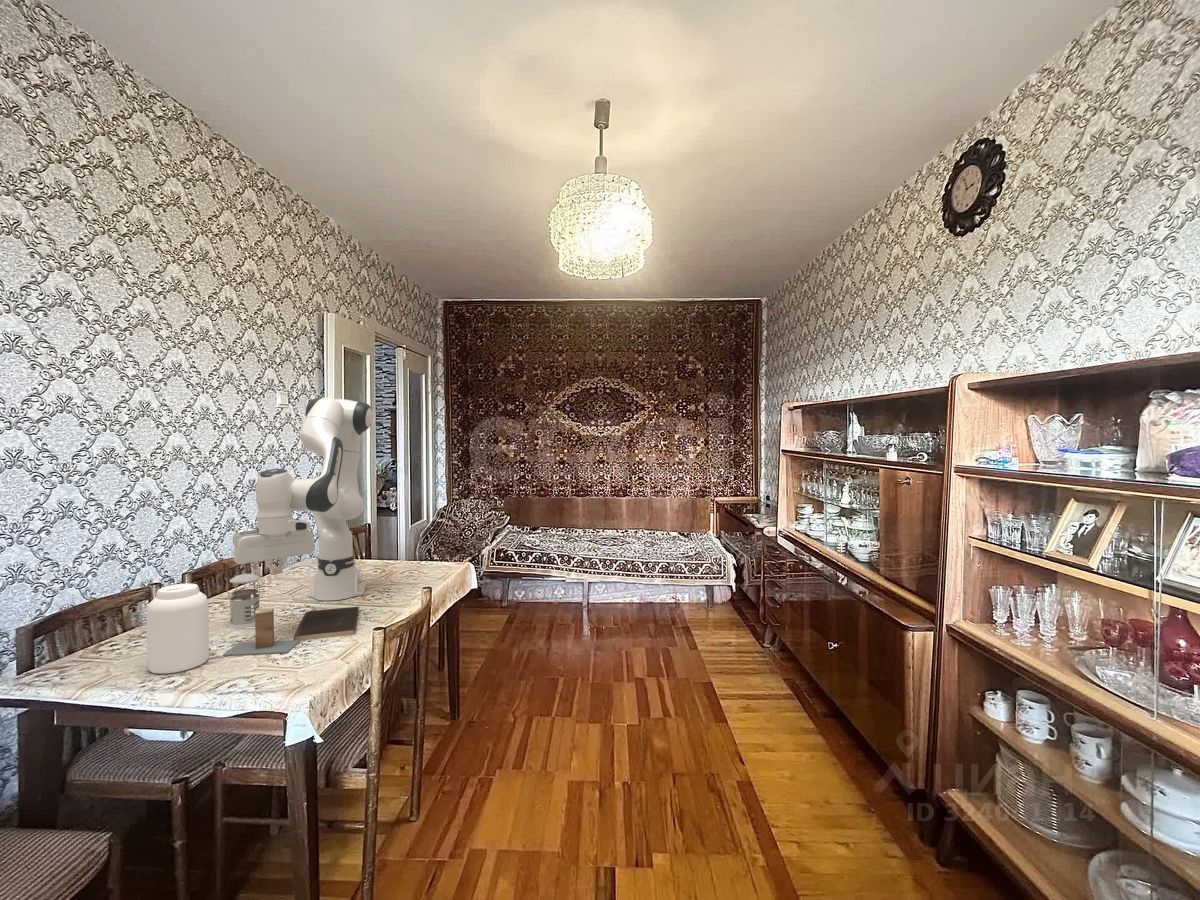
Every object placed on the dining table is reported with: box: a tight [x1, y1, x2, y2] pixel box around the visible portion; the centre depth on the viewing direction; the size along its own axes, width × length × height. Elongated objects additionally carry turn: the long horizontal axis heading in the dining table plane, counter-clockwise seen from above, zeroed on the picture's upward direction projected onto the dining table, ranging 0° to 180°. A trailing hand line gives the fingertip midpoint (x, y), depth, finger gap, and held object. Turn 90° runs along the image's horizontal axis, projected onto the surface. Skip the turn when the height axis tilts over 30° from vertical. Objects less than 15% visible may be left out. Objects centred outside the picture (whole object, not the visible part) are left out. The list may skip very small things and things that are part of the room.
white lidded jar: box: [146, 582, 210, 675], centre depth 142 cm, size 12×12×20 cm
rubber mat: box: [222, 639, 302, 657], centre depth 153 cm, size 9×16×1 cm, turn 98°
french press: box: [226, 564, 261, 629], centre depth 175 cm, size 10×12×25 cm
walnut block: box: [254, 606, 275, 649], centre depth 154 cm, size 4×4×10 cm
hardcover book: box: [293, 606, 360, 641], centre depth 172 cm, size 16×23×2 cm
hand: (276, 573), depth 161 cm, fingers closed
